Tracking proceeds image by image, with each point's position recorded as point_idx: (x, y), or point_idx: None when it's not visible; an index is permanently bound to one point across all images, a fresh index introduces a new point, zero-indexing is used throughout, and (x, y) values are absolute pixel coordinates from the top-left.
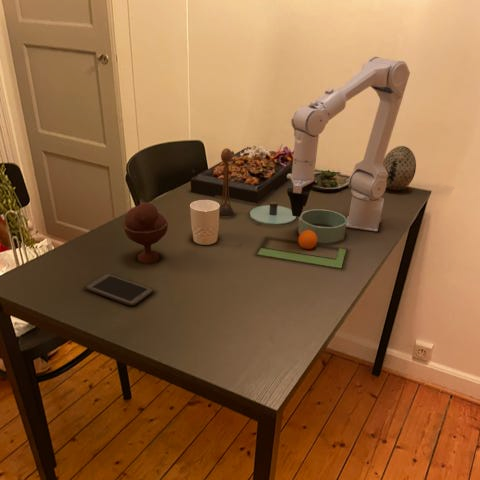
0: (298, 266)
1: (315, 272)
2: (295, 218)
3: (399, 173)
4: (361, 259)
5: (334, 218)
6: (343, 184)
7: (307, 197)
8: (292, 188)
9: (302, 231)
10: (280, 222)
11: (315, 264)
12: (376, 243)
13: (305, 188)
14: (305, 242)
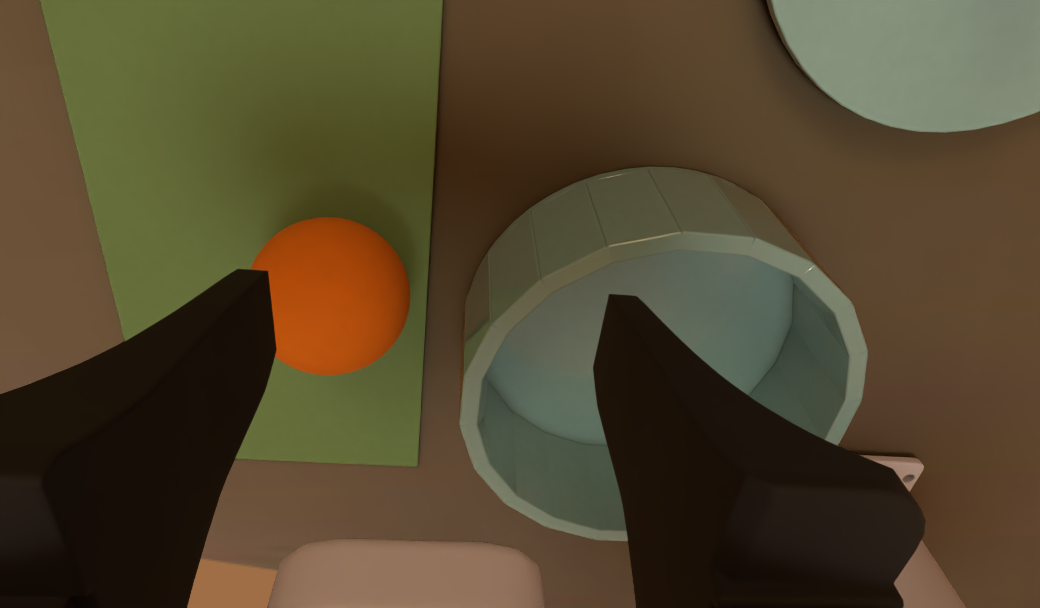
0: (27, 220)
1: (15, 329)
2: (902, 127)
3: None
4: (331, 524)
5: None
6: None
7: (612, 462)
8: (47, 552)
9: (536, 230)
10: None
11: (122, 324)
12: (557, 572)
13: (651, 534)
14: None
